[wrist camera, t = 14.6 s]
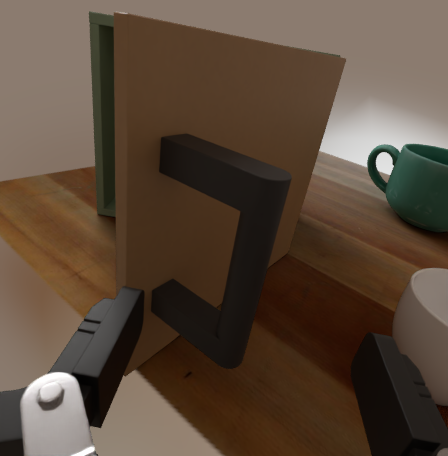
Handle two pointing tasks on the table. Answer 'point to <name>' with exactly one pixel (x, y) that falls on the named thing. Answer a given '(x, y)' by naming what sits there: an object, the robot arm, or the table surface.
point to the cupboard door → (209, 174)
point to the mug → (416, 184)
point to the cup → (425, 328)
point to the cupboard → (106, 109)
